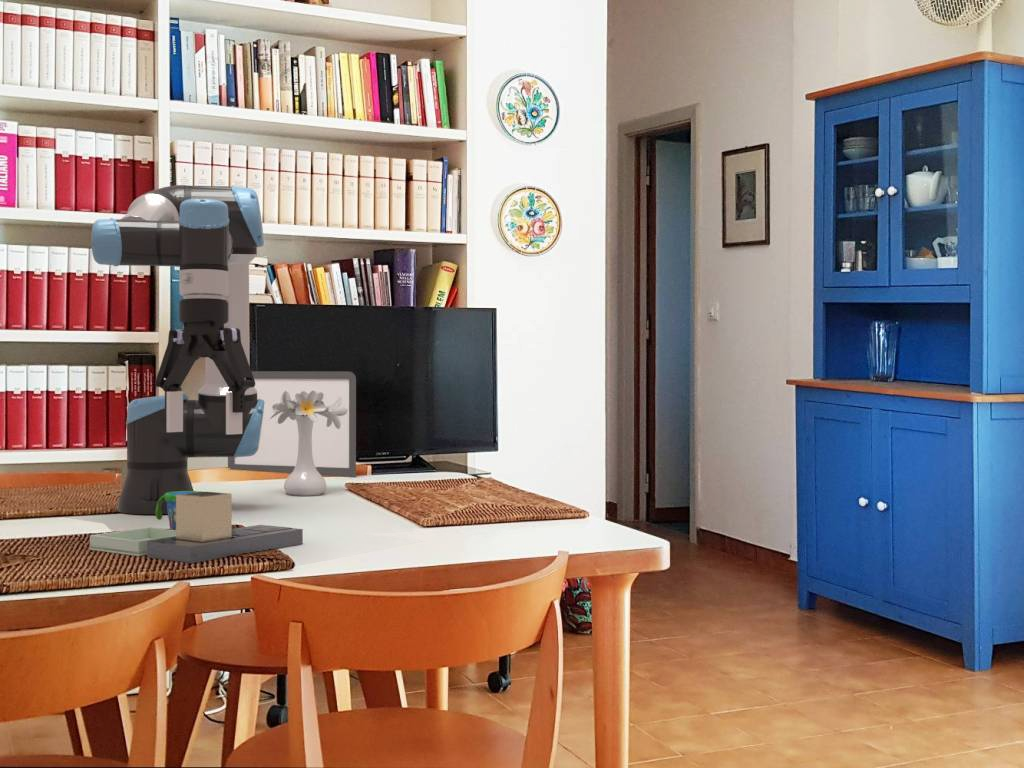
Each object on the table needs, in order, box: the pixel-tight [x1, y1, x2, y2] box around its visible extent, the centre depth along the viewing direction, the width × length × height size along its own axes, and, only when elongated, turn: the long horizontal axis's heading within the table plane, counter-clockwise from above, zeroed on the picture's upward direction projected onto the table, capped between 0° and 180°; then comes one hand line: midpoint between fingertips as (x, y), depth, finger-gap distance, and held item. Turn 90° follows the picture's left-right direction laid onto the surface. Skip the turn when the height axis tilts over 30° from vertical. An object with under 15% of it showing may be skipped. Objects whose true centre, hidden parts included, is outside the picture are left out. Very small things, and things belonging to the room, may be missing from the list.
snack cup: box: [155, 490, 203, 530], centre depth 208 cm, size 11×8×7 cm
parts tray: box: [89, 527, 176, 557], centre depth 192 cm, size 12×12×2 cm
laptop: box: [227, 370, 357, 478], centre depth 290 cm, size 38×29×29 cm
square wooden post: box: [176, 491, 233, 543], centre depth 185 cm, size 6×6×9 cm
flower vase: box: [270, 390, 348, 497], centre depth 264 cm, size 13×18×25 cm
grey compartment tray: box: [146, 524, 304, 564], centre depth 190 cm, size 10×24×3 cm, turn 146°
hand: (203, 433), depth 185 cm, fingers open, 13 cm apart
